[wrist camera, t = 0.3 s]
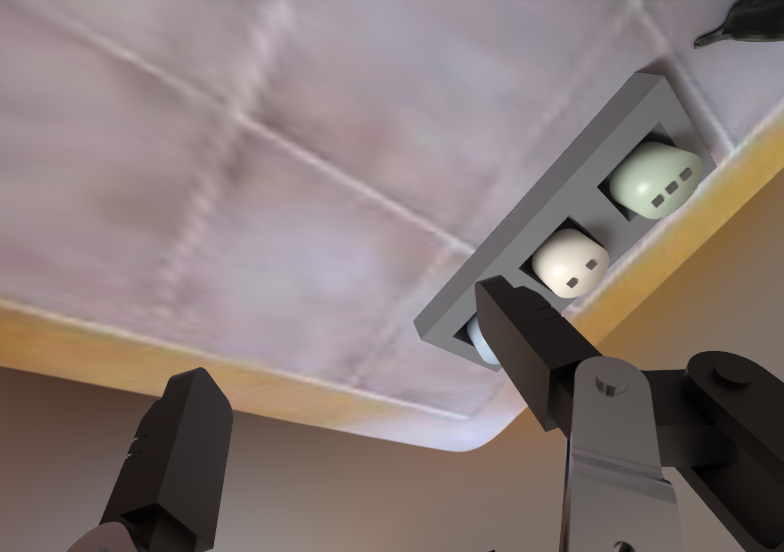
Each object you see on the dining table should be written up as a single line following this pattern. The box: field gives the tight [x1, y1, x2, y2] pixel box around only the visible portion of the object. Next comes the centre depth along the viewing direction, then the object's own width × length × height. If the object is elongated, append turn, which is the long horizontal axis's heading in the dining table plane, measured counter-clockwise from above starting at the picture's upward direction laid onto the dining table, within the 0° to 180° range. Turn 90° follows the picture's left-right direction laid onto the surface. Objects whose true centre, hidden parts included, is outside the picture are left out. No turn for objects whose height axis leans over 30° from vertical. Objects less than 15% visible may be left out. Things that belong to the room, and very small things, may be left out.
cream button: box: [532, 229, 609, 298], centre depth 30 cm, size 5×5×3 cm
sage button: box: [609, 142, 703, 219], centre depth 28 cm, size 5×5×3 cm
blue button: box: [467, 312, 500, 364], centre depth 33 cm, size 5×5×3 cm
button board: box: [413, 72, 717, 372], centre depth 32 cm, size 26×11×2 cm, turn 142°
